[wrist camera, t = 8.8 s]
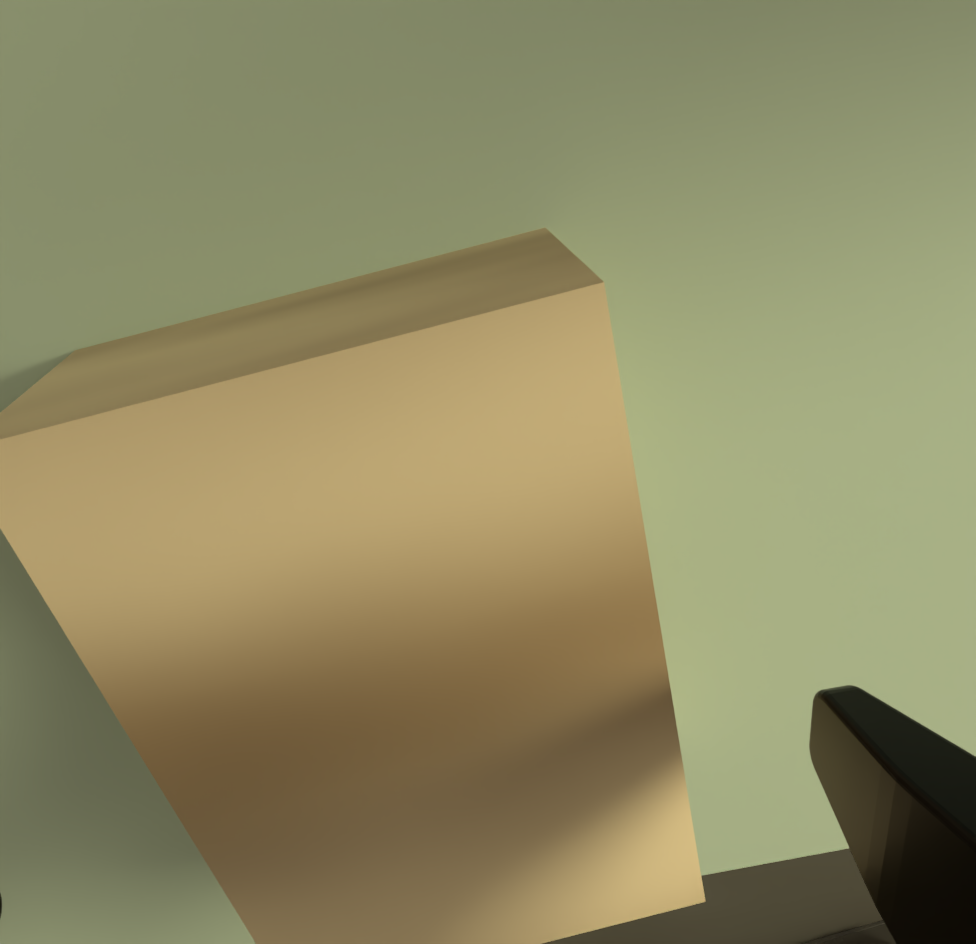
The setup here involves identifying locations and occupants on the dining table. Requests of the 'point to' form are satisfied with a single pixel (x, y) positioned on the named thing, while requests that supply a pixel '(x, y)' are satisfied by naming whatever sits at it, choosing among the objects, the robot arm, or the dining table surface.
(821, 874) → the dining table surface
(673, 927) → the dining table surface
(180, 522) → the brass block
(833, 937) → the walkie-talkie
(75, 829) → the rubber mat
